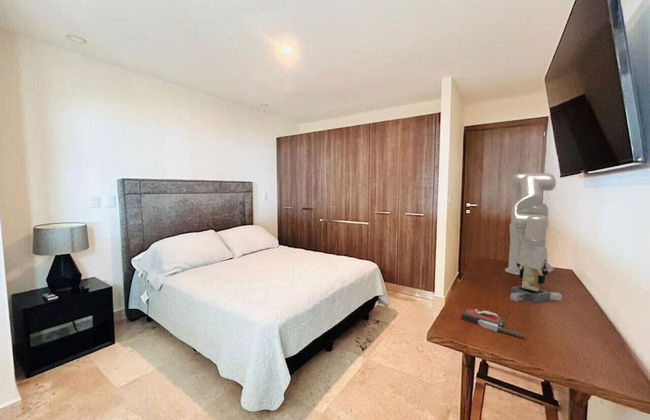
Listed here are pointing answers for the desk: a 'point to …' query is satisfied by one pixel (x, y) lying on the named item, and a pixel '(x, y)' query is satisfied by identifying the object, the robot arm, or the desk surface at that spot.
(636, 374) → the desk surface
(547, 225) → the robot arm
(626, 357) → the desk surface
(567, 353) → the desk surface
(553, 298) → the block
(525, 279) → the skincare box
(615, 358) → the desk surface
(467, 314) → the toy chainsaw
